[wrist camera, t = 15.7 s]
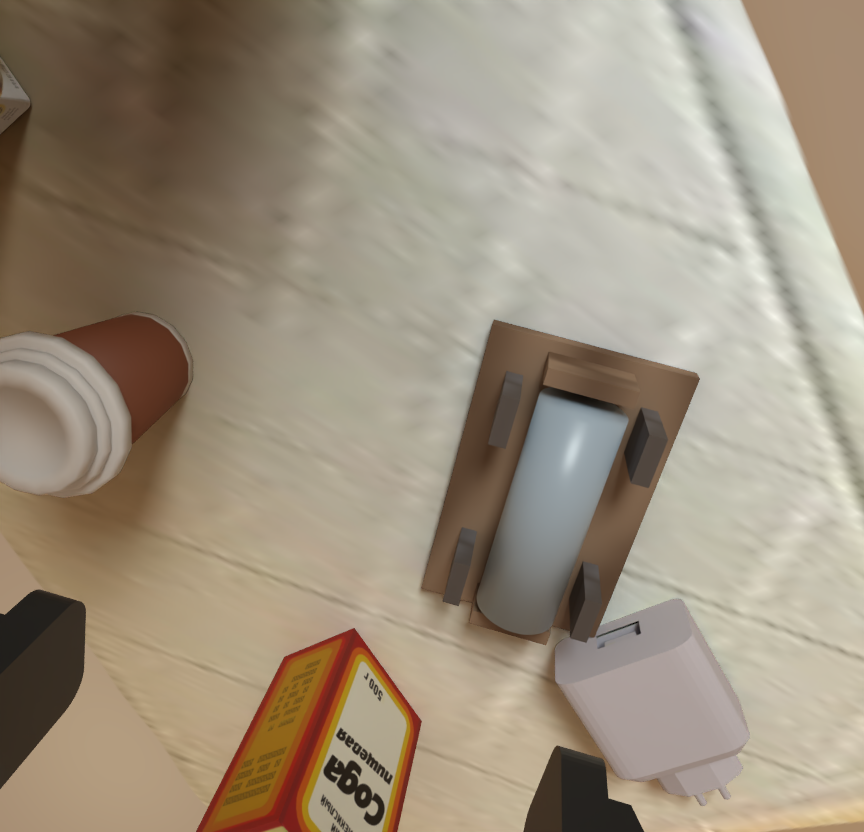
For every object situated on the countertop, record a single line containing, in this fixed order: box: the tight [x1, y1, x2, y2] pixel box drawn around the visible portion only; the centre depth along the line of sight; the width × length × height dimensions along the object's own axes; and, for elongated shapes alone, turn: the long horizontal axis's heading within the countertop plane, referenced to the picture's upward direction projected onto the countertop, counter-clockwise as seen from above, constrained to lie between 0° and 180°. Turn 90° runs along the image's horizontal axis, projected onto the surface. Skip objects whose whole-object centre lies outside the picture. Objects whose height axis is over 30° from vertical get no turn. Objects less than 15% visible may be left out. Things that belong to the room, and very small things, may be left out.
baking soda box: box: [196, 628, 422, 832], centre depth 47 cm, size 10×6×16 cm
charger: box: [555, 599, 750, 806], centre depth 48 cm, size 5×9×15 cm
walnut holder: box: [422, 320, 700, 645], centre depth 43 cm, size 12×19×5 cm, turn 167°
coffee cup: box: [0, 312, 193, 498], centre depth 41 cm, size 9×9×12 cm
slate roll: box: [477, 387, 629, 635], centre depth 42 cm, size 14×5×5 cm, turn 167°
